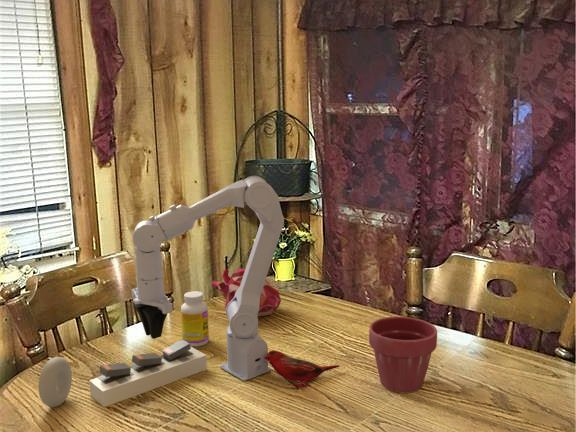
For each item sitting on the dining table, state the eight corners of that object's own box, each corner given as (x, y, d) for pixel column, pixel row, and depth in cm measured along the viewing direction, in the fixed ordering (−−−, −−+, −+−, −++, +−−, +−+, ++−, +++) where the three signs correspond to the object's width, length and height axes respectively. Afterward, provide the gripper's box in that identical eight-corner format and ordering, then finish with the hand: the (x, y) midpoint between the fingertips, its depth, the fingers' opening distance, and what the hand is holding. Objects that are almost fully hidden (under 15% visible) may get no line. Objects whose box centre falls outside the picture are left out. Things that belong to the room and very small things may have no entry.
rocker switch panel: (206, 369, 142) (206, 353, 141) (104, 407, 126) (102, 389, 125) (191, 360, 147) (190, 344, 146) (90, 395, 131) (89, 378, 130)
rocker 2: (161, 363, 137) (162, 357, 137) (138, 366, 134) (139, 359, 134) (153, 358, 140) (154, 352, 140) (131, 361, 136) (132, 354, 136)
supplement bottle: (206, 347, 154) (204, 298, 151) (180, 347, 154) (177, 298, 151) (210, 336, 161) (208, 289, 158) (185, 337, 161) (182, 289, 158)
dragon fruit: (274, 299, 186) (211, 278, 182) (289, 272, 178) (223, 250, 174) (269, 335, 175) (202, 314, 171) (285, 308, 167) (215, 286, 164)
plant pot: (412, 364, 144) (413, 311, 141) (448, 391, 131) (451, 334, 128) (357, 375, 138) (357, 321, 136) (389, 404, 126) (390, 345, 123)
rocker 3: (190, 348, 142) (189, 343, 142) (170, 360, 139) (169, 354, 138) (183, 344, 144) (182, 338, 144) (163, 355, 141) (161, 350, 141)
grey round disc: (61, 391, 133) (57, 348, 131) (76, 392, 133) (72, 349, 130) (37, 416, 123) (32, 369, 121) (54, 417, 123) (49, 370, 121)
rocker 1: (130, 374, 133) (130, 367, 132) (105, 377, 129) (106, 370, 129) (123, 369, 135) (124, 362, 135) (99, 372, 131) (100, 365, 131)
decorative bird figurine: (267, 390, 132) (260, 355, 140) (345, 391, 136) (334, 357, 145) (270, 381, 130) (263, 346, 138) (348, 382, 135) (337, 348, 143)
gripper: (117, 273, 137) (121, 331, 140) (149, 288, 126) (153, 351, 129) (146, 266, 141) (149, 322, 144) (179, 281, 131) (183, 341, 133)
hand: (153, 335), depth 137 cm, fingers closed
